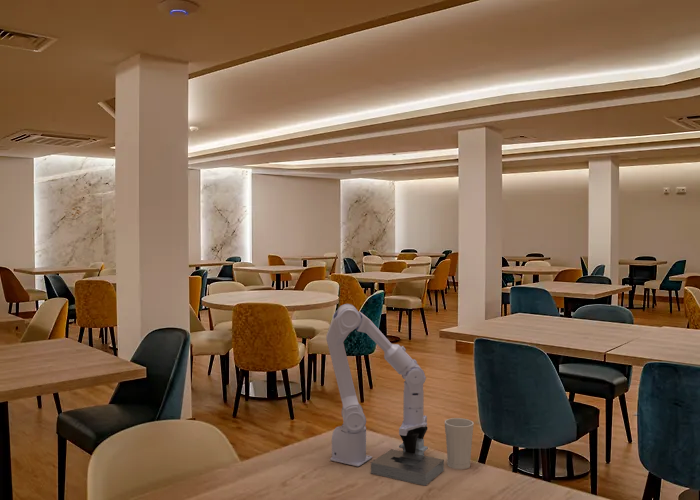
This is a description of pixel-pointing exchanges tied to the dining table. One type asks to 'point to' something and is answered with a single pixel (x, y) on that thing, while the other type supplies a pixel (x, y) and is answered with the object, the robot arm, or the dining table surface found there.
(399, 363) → the robot arm
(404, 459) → the chassis
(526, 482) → the dining table surface
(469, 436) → the cup
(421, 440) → the block
